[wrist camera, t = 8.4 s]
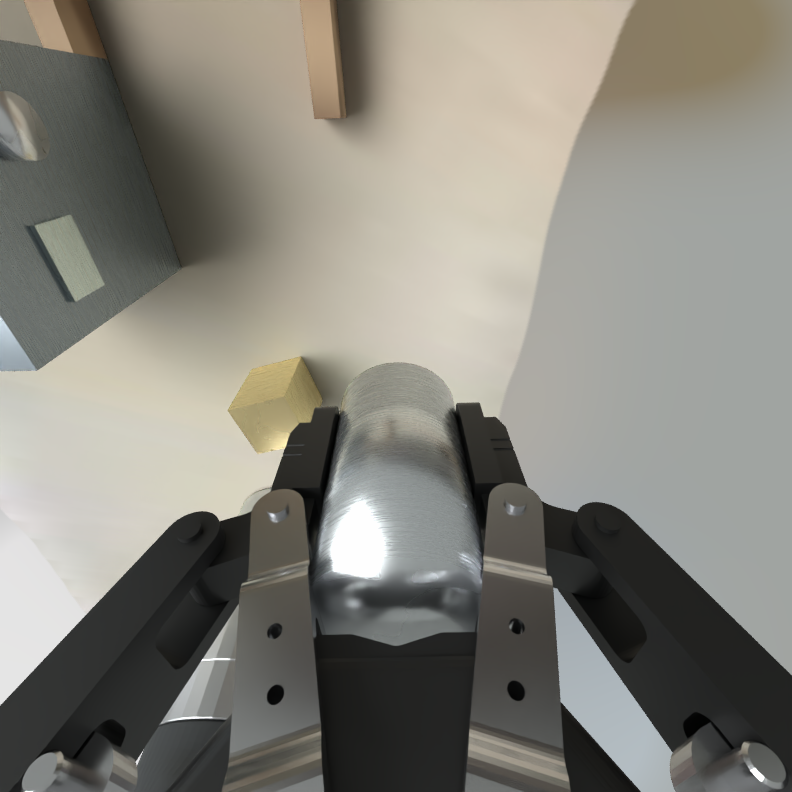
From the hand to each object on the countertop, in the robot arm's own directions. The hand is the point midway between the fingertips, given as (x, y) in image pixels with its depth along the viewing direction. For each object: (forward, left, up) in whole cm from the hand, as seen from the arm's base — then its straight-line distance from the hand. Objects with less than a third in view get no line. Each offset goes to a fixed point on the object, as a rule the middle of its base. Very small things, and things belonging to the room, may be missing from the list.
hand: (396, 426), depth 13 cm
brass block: (-8, +9, -14) cm, 19 cm away
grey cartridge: (0, 0, -1) cm, 1 cm away
